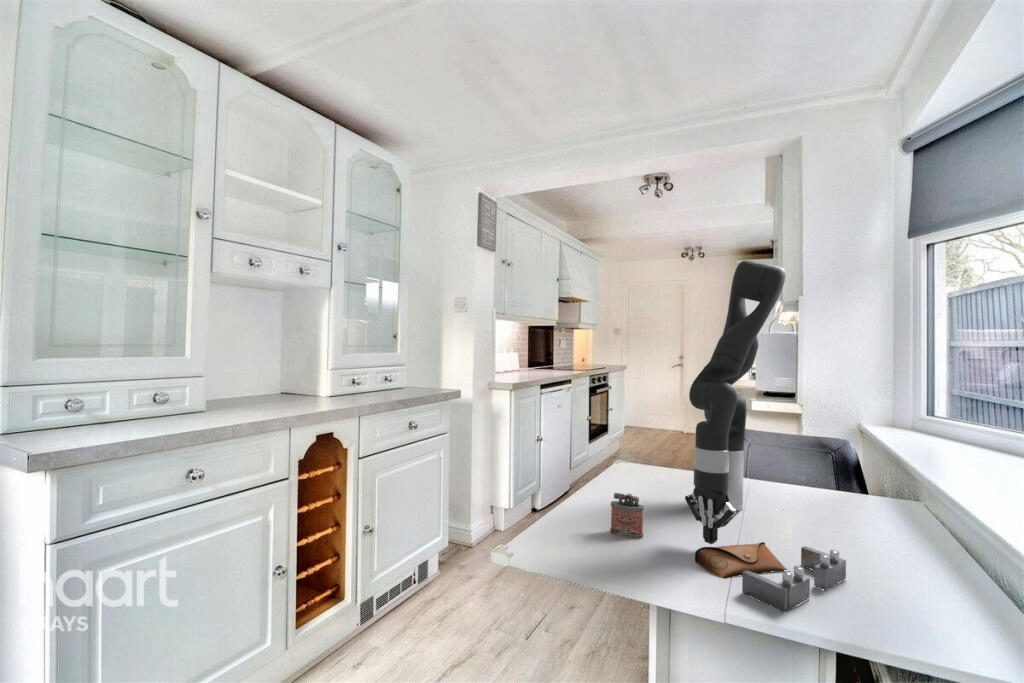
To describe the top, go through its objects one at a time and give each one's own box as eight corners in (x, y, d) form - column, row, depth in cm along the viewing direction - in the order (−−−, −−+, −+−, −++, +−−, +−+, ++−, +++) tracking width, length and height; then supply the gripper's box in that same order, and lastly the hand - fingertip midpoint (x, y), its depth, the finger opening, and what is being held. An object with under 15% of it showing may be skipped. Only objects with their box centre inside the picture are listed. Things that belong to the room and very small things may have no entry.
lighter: (644, 535, 119) (645, 494, 119) (641, 540, 116) (642, 498, 116) (612, 529, 123) (612, 490, 123) (608, 533, 120) (609, 493, 120)
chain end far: (783, 574, 100) (783, 545, 100) (804, 564, 105) (804, 536, 105) (825, 591, 93) (825, 560, 93) (845, 579, 98) (846, 550, 98)
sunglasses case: (719, 580, 97) (709, 544, 100) (700, 583, 103) (691, 549, 106) (793, 571, 102) (780, 537, 105) (770, 574, 107) (759, 542, 111)
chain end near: (742, 592, 92) (742, 561, 92) (767, 581, 97) (767, 551, 97) (784, 612, 85) (785, 579, 86) (809, 599, 90) (809, 567, 90)
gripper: (747, 472, 108) (746, 549, 107) (697, 459, 119) (695, 529, 119) (727, 476, 104) (726, 557, 103) (677, 462, 115) (675, 535, 115)
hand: (709, 542), depth 111 cm, fingers closed
